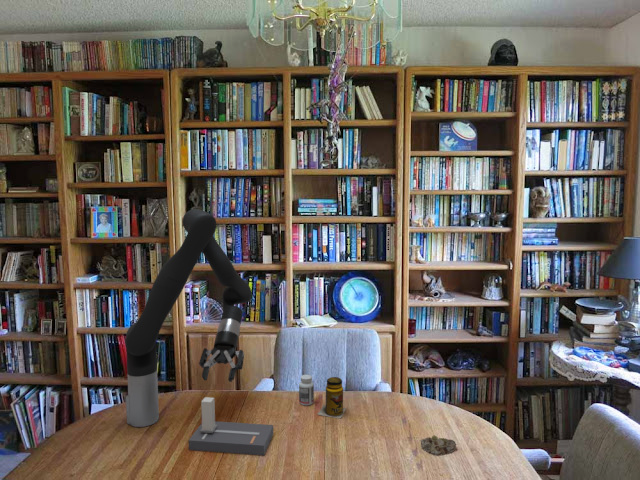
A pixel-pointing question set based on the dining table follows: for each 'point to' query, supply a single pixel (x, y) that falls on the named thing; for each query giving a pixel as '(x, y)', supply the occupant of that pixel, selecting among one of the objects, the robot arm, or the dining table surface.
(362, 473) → the dining table surface
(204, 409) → the fader tab
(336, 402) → the condiment
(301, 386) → the pill bottle
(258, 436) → the console
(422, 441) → the mineral rock
